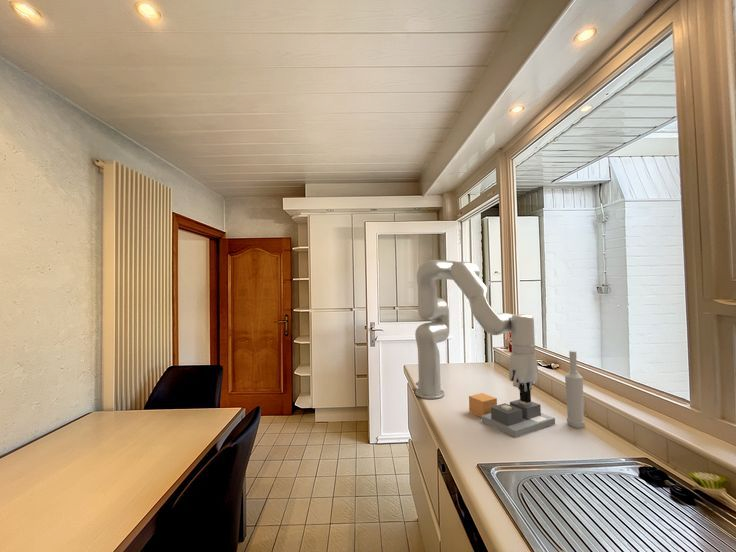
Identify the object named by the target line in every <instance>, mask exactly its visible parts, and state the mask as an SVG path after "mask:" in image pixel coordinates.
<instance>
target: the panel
mask: <svg viewBox="0 0 736 552" xmlns="http://www.w3.org/2000/svg"><path fill="white" fill-rule="evenodd" d="M520 401H521V400H520V398H519V399H516V400H512V401H510V402H509V404H508V403H502V404H497V406H493V407H491V413H490V414H486V415H482V418H481V422H482V423H484V424H486V425H488V426H490V427H493V428H495V429H497V430H498V431H499V430H500V431H502V432H503V433H505V434H508V435H509V436H512V437H514V438H518V437H521V436H524V435H526V434H530V433H533V432H536V431H538V430H542V429H544V428H547V427H550V426H553V425H555V424H556V418H555V417H553V416H550V415H548V414H545V413H542V411H541V407H542V406H541V404H540V403H538V402H534V401H532V400H531V402H530V404H529V405H523V404H520ZM503 405H508V406H510V407H512V410H508V411H506V410H504V409H501V406H503Z"/></svg>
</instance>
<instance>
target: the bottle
mask: <svg viewBox="0 0 736 552" xmlns="http://www.w3.org/2000/svg"><path fill="white" fill-rule="evenodd" d="M568 356H569V368H570V369H569V371H568V372H567V373H566V374H565V375H564V379H565V380H564V381H565V383H564V384H565V395H566V396H565V397H566V398H565V399H566V412H567V417H566V423H567V425H568V426H569V427H572V428H574V429H575V428H576V429H582V428H584V427H585V425H586V424H585V422H586V421H585V420H584V418H585V417H584V414H585V413H584V377H583V376H582V375H581V374H580V373H579V371H578V365H577V364H578V363H577V351H576V350H569V355H568Z"/></svg>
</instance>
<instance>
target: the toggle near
mask: <svg viewBox="0 0 736 552" xmlns="http://www.w3.org/2000/svg"><path fill="white" fill-rule="evenodd" d="M508 405H509V404H508ZM508 405H503V406H501V409H504V410H506V411H508V410H512V407H510V406H508Z"/></svg>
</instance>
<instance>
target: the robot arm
mask: <svg viewBox="0 0 736 552" xmlns="http://www.w3.org/2000/svg"><path fill="white" fill-rule="evenodd" d="M479 276H480V269H479V267H478V265H476V264H475V263H474V262H469V261H455V260H454V261H453V260H442V259H430V260H427V261H424V262H422V264H421V265H420V266H419V267H418V270H417V272H416V284H417V311H418V316H419V318H420V319H422V320H424V321H429V320H430V321H431V322H425V323H421V324H419V325H418V326H417V328H416V330H415V334H414V335H415V341H416V342H415V343H416V347H417V348H416V349H417V363H418V364H417V365H418V366H417V367H418V368H417V369H418V381H416V382H415V385H416V386H417V389H415V395H416V396H417V397H418V398H421V399H427V400H431V399H432V400H434V399H435V400H436V399H440V398H443V397H444V396H445V391H444V390H443V389H441V360H440V357H441V355H440V350H439V348H438V347H439V346H438V345H437V344H438V343H441V342H444V341H446V340H447V339H448V337H449V334H450V308H449V305H448V303H447V302H446V300H444V299H443V298H440V297H438V287H437V285H436V283H435V280H451V281H453V282H454V283H455V284H456V285H457V287H458V288H459V289H460V290H461V292H462V293H463V295H464V296H465V297H466V299H467V300H468V303H469V308H470V310H471V313H472V314H473V315H472V316H473V317H474V318H475V320H476V322H477V323H478V324H479V325H480V326H481V328H482V330H484V331H485V332H486V333H487V334H489V335H491V336H500V335H503V334H507V333H510V334H511V335H510V336H511V337H510V338H511V353H510V356H509V367H508V376H509V381H511V382H512V386H513V387H515V388H518V390H519V399H520V400H521V401H523V402H526V403H529V402H531V401H532V395H531V394H532V393H531V391H532V390H533V385H534V384H536V382H537V380H538V378H539V368H538V367H539V366H538V359H537V355H536V339H535V320H534V317H533V316H532V315H530V314H522V313H521V314H513V313H508V312H498V313H496V311H495V310H493V308H492V307H491V305H490V304H489V303H488V299H487V292H488V287H487V285H485V283H484V282H483V281H482V280H481V279H480V277H479Z"/></svg>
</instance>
